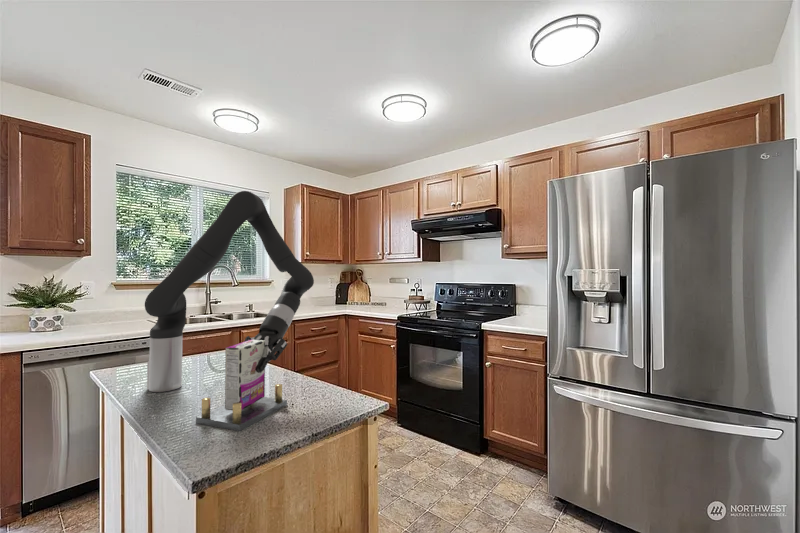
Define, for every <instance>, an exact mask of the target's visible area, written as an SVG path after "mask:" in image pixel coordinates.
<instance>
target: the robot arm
mask: <svg viewBox="0 0 800 533" xmlns="http://www.w3.org/2000/svg"><path fill="white" fill-rule="evenodd" d="M246 221H247V222H248V223H249V225H250V226H252V228H253V229H254V231H256V233H257V234H258V236H259V238H260V239H261V240H260V241H261V243H262V244H263V247H264V250H265V252H266V253H267V256H268V257H269V258H270V260H271V261H272V263H273V264H274V266H275V267H276V269H277V270H278V271H279V272H280V273H288V274H289V276H290V278H289V279H287V282H286V283H285V284H284V286H283V288H282V291H281V294H280V296H279V297H278V298H277V300H276V302H275V303H274V305H273V306H272V307H271V308H270V310H269V312H268V313H267V315H266V316H265V318H264V320H263V321H262V323H261V324H260V326H259V329H258V333H257V334H255V336H254V337H251V336H249V335H248V336H246V337H245V339H244V341H243V342H245V341H249V340H264V341H265V347H264V349H263V350H264V353H263V358H261V359H260V361H259V363H258V365H257V366H256V369H255V370H256V371H257V372H258V373H261V372H262V371H263V370H264V369H265V370H266V367H267V366H268V364H269V362H271V361H276V360H277V359H279V357H280V356H281V355H282V353H283V351H284V350H285V349H286V348H287V346H288V343H287V341H286V340H285V338H284V337H285V335H286V333H287V331H288V330H289V327H290V326H291V323H292V322H293V320H294V317H295V315H296V313H297V311H298V309H299V307H300V304H301V298H302V296H304V294H305V293H306V292H308V291H309V290H310V289H311V288H312V287H313V286H314V283H315V282H314V281H315V280H314V276H313V274H312V272H311V271H310V270H309V269H308V267H306V265H304V264H303V263H302V262H300V260H299V259H297V258H296V257H295V254H294V252H292V250H291V249H290V247H289V245H287V243H286V242H285V240H284V238H283V237H282V236H281V234H280V233H279V231H278V229H277V228H276V225H274V223H273V221H272V219H271V216H270V215H269V213H268V209H267V208H266V205H265V204H264V202H263V200H262V199H261V197H260V196H258V195H256V194H255V193H253V192H251V191H249V190H239V191H237V192H236V193H234V194H233V195H232V196H231V198H230V199H229V200H228V201H227V203H226V205H225V207H223V209H222V210H221V212H220V214H219V215H218V216H217V218H216V219H215V220H214V221H213V223H212V224H211V225H210V226H209V227H208V228H207V229H206V230H205V232H204V233H202V235H201V236H200V238H199V239H197V241H196V242H195V243H194V244H193V245H192V247H191V248H190V249H189V250H188V251H187V253H186V254H185V255H184V256H183V258H181V260H180V261H179V262H178V264H176V265H175V267H174V268H173V269H172V270H171V272H170V273H169V274H168V275H167V276H166V277H165V278H164V279H163V280H162V281H160V283H159V284H157V285H156V287H154V288H153V289H152V290H151V291H150V292H149V293H148V295H147V296H146V298H145V300H144V310H145V312H146V313H147V314H148V315H149V316H151V317H155V318H157V320H156V323H155V324H154V325H153V326H152V328H150V330H149V357H148V358H149V359H147V372H146V373H147V374H146V388H147V389H146V390H148V391H149V392H151V393H152V392H153V393H162V392H169V391H170V392H171V391H174V390H177V389H179V388H181V387H182V385H183V382H182V381H183V378H182V377H183V334H184V332H183V331H184V328H185V326H186V321H187V320H186V319H187V299H186V296H185V292H186V290H187V289H188V288H190V286H192V285H193V284H194V283H196V282H198V281H199V280H200V279H202V278H203V277H205V276H206V275H207V274H209V273H210V272H211V271H212V270H213V269H214V268H215V267H216V266H217V265H218V264H219V262H220V261H221V260H222V259H223V258H224V256H225V254H226V253H227V251H228V249H229V246H230V244H231V242H232V240H233V236H234V235H235V233H236V232H237V231H238V230H239V228H240V227H241V226H242V225H243V224H244V223H246Z"/></svg>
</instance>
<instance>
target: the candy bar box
mask: <svg viewBox="0 0 800 533" xmlns="http://www.w3.org/2000/svg"><path fill="white" fill-rule="evenodd" d="M244 341H245V340H244ZM244 341H243V342H239V343H237V344H233V345H230V346H227V347H225V356H224V357H225V367H224V368H225V369H224V370H225V371H224V374H225V376H224V378H225V380H224V387H225V388H224V390H225V391H224V392H225V393H224V405H225V409H227V410H233V403H236V402H241V403H242V405H241V410H243V409H245V408H246V407H248V406H250V405H251V404H253V403H255V402H256V401H258V400H260V399H261V398H263V397H266V396H265V391H266V390H265V388H266V387H265V386H266V384H265V381H266V379H265V378H266V376H265V375H266V374H265V373H266V371H265V370H266V368H265V369H264V370H263V371H262V372H261V373H258V372H257V371H256V370H255V369H256V366H257V365H258V363H259V361H260V359H261V358H263V353H264V350H263V349H264V347H265V341H264V340H249V341H245V342H244Z"/></svg>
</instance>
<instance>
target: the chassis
mask: <svg viewBox="0 0 800 533" xmlns="http://www.w3.org/2000/svg"><path fill="white" fill-rule="evenodd" d="M241 405H242V403H241V402H236V403H233V410H227V409H225V404H223V405H221V406H219V407H217V408H214V409H212V410H211V397H204V398H203V397H202V399H201V414H200V415H198V416H196V417H195V424H198V425H204V426H210V427H215V428H219V429H220V428H221V429H225V430H230V431H231V430H232V431H238V432H240V431H242V430H244V429H246V428H248V427H250V426H252V425H254V424H256V423H257V422H259V421H261V420H263V419H264V418H266V417H268V416H270V415H273V413H276V412H277V411H280V410H281V409H283V408H284V407H286V406H288V400H287V399H283V384H282V383H277V384H275V385H274V397H267V396H264V397H263V398H261V399H260V400H258V401H256V402H255V403H253V404H251V405H250V406H248V407H246V408H245V409H243V410H241Z"/></svg>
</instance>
